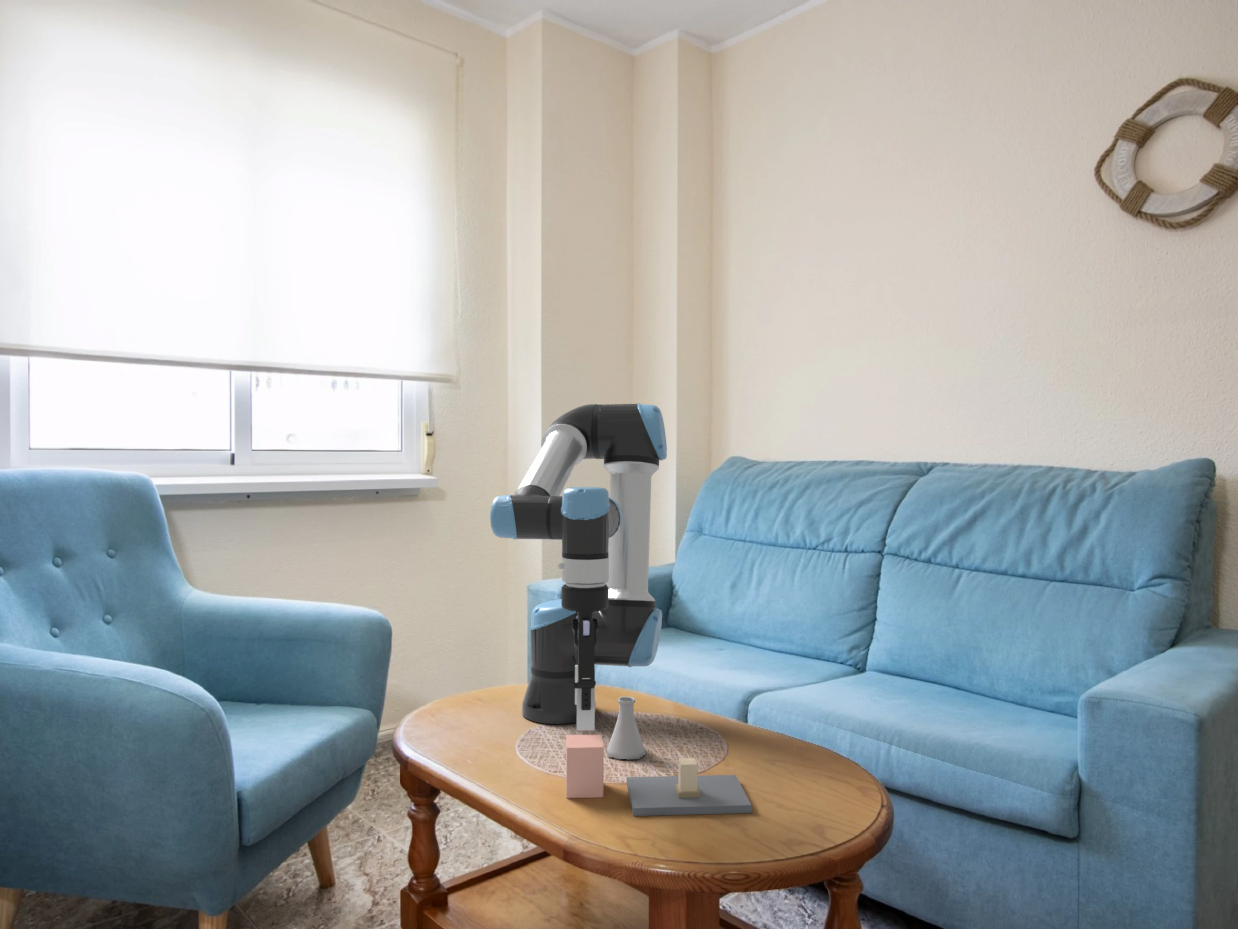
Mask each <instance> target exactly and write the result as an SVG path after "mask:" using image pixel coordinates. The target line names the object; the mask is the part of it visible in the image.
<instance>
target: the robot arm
mask: <svg viewBox="0 0 1238 929" xmlns="http://www.w3.org/2000/svg"><path fill="white" fill-rule="evenodd" d="M540 443H541V448H540V450H539V451H538V453H537V455H536V457H535V459H534V460H533V462H532V464H531V465H530V467H529V469H528V470H527V472H526V474H525V475H524V477H523V479H522V480H521V482H520V484H519V485H518V487H517V489H516V491H514V494H510V493H508V494H504V495H502V494H501V495H498V496H497V495H496V497H495V498H493V501H492V503H491V507H490V514H489V521H490V527H491V528H490V529H491V531H492V532H493V535H494V536H496V537H498V538H501V539H512V540H557V541H560V540H561V561H562V562H560V563H557V569H559V570H562V571H561V581H562V582H563V583H565V584H562V586H561V597H560V598H559V599H553V600H549V601H548V600H547V601H545V602H542V603H539V604H537V605H536V606H535V607H534V608H532V611H531V615H530V616H531V617H530V618H531V620H530V622H531V623H530V627H529V630H530V678H529V682H528V684H527V687H526V690H525V693H524V696H523V700H522V704H521V706H522V707H521V712H522V713H521V714H522V716H523V717H524V718H525V719H526V720H529V721H531V722H535V723H540V724H546V725H547V724H549V725H564V724H565V725H566V724H567V725H568V724H575V723H576V731H595V727H596V726H595V724H596V721H595V720H596V716H595V715H596V711H597V709H596V708H597V706H596V705H597V702H596V691H595V690H596V688H595V687H596V685H597V681H596V675H595V674H596V672H595V671H596V667H595V666H596V665H597V666H614V667H616V666H617V667H628V668H632V667H649V666H650V665H651V664H653V662H654V660H655V659H656V657H657V653H658V649H659V643H660V641H661V640H660V639H661V632H662V625H663V624H662V621H663V611H662V610H661V609H659V608H658V607H656V600H655V598H654V597H653V596H652V595H651V594H650V593H649V569H650V567H649V565H650V538H651V536H650V534H651V532H650V531H651V502H652V501H651V498H652V496H651V495H652V477H653V475H654V474H655V473H656V472H657V471H658V470H659V469H660V461H664V460H666V459H667V456H668V454H667V453H668V452H667V451H668V448H667V445H668V444H667V435H666V429H665V422H664V418H663V414H662V411H661V409H660V408H659V407H658V406H657V405H655V404H644V403H642V404H641V403H639V402H638V403H620V404H619V403H618V404H617V403H615V404H613V403H612V404H608V403H607V404H605V403H604V404H597V403H592V404H585V405H581V406H578V407H575V408H573V409H571V410H569V411H567V412H565V413H564V414H562V415H560V416H559V417H558V418H556V419H555V420H554V421H553V422H551V424H550V425H549V426H548V427H547V429H546V430H545V431H544V433H543V435H542V437H541V442H540ZM591 459H596V460H603V468H604V469H605V470H606V471H607V472H608V473H609V475H610V481H609V482H610V483H609V484H610V486H609V490H608V489H607V488H606V487H600V486H599V487H597V486H596V487H593V486H574V487H567V488H565V486H566V484H567V482H568V480H569V478H570V477H571V474H572V472H573V470H574V468H575V466H577V465H579V464H580V463H581V462H582V461H583V460H591ZM563 490H564V491H563Z"/></svg>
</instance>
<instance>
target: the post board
mask: <svg viewBox="0 0 1238 929" xmlns="http://www.w3.org/2000/svg"><path fill="white" fill-rule="evenodd" d="M677 767H678V772H677V773H678V775H668V776H665V775H664V776H663V775H662V776H661V775H660V776H659V775H658V776H657V775H656V776H627V777H626V786H627V791H628V792H627V793H628V797H629V798H628V799H629V802H630V807H631V812H632V816H633V817H640V816H641V817H642V816H643V817H644V816H646V817H647V816H650V817H651V816H683V815H684V816H685V815H718V814H719V815H721V814H722V815H723V814H724V815H725V814H751V813H752V810H753V809H752V803H751V801H750V799H749V797H748V795H747V794H746V792H745V790H744V788H743V786H742V784H741V782H740V781H739V779H738V777H737V775H736V774H711V775H710V774H709V775H707V774H706V775H702V774H701V775H698V762H697V760H696V758H694V757H693V758H691V757H689V758H678V766H677Z"/></svg>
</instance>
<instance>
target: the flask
mask: <svg viewBox="0 0 1238 929" xmlns="http://www.w3.org/2000/svg"><path fill="white" fill-rule="evenodd" d="M617 702H618V715H617V720H616V723H615V725H614V728H613V732H612V735H611V737H610V741H609V742H608V745H607V747H606V754H607V757H608V756H609V758H612V757H614V759H617V760H621V759H627V760H639V759H641V758H642V757H644V756H645V755H646V754H647V753H646V750H645V746H644V743H643V740H642V738H641V735H640V732H639V729H638V725H637V721H636V717H635V711H634V710H635V709H634V704H635V703H636V699H635V697H633V696H619V697H618V698H617ZM643 755H644V756H643ZM640 757H641V758H640Z"/></svg>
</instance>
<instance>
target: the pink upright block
mask: <svg viewBox="0 0 1238 929" xmlns="http://www.w3.org/2000/svg"><path fill="white" fill-rule="evenodd" d="M565 742H566V748H565V751H566V753H565V756H566V758H565V759H566V761H565V763H566V764H565V774H566V775H565V788H566V789H565V790H566V793H565V794H566V795H565V796H566V799H584V798H585V799H587V798H589V799H591V798H604V762H605V761H604V757H605V756H604V749H605V748H604V741H603V734H573V735H572V734H570V735H569V734H566V738H565Z"/></svg>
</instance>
